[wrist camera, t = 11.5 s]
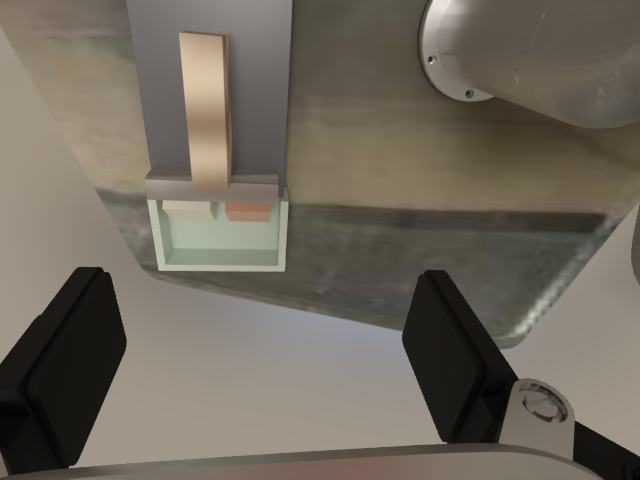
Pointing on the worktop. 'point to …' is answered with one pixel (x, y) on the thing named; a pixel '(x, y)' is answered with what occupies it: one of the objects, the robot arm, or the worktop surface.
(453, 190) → the worktop surface
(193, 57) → the scraper
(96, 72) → the worktop surface
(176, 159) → the grey platform with tray
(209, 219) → the tile cream
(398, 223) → the worktop surface
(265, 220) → the tile terracotta
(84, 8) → the worktop surface
